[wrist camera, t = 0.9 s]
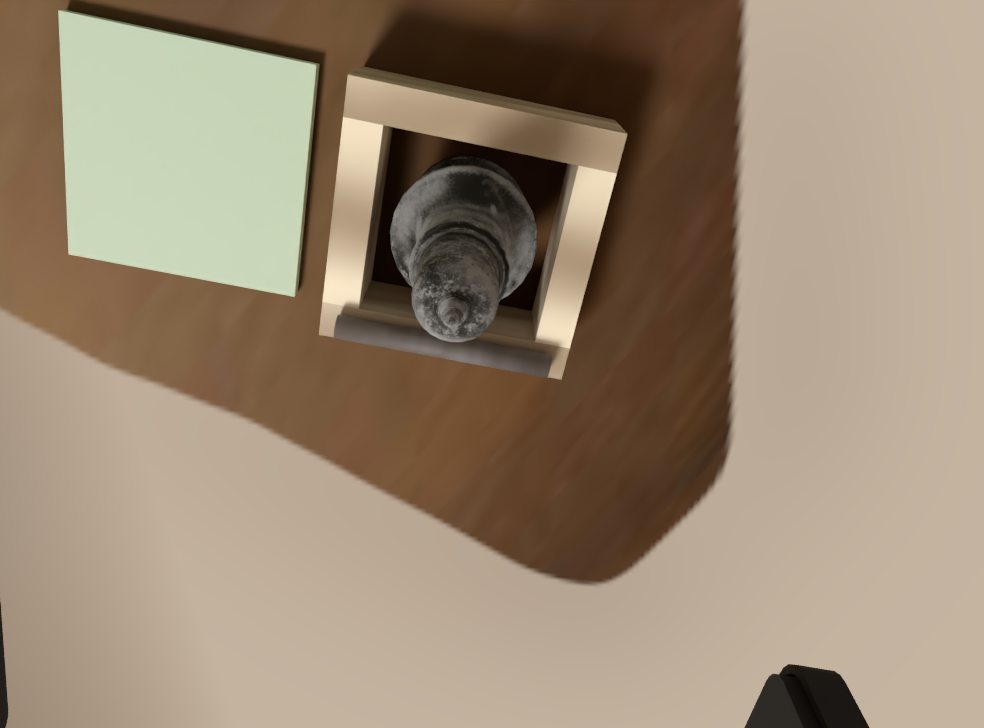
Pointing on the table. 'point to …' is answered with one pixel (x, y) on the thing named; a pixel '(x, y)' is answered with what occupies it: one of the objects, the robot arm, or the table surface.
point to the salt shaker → (462, 244)
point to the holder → (487, 122)
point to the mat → (185, 153)
